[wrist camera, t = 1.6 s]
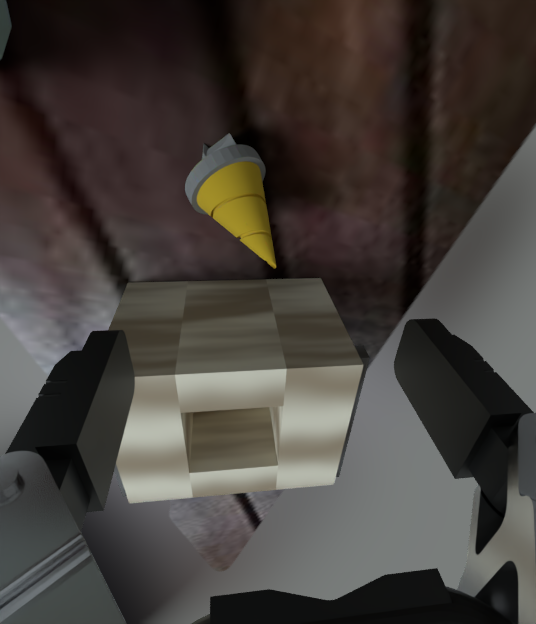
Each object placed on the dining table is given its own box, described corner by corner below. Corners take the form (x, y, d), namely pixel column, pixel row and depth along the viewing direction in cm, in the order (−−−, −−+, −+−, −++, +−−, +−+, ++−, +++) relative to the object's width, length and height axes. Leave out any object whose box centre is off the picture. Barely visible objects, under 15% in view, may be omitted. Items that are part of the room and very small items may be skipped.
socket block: (120, 282, 29) (76, 380, 20) (327, 277, 31) (372, 364, 22) (145, 395, 36) (121, 504, 27) (311, 385, 38) (340, 483, 29)
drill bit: (252, 113, 24) (329, 237, 22) (219, 172, 28) (281, 281, 26) (182, 103, 20) (266, 249, 18) (155, 172, 24) (222, 298, 22)
